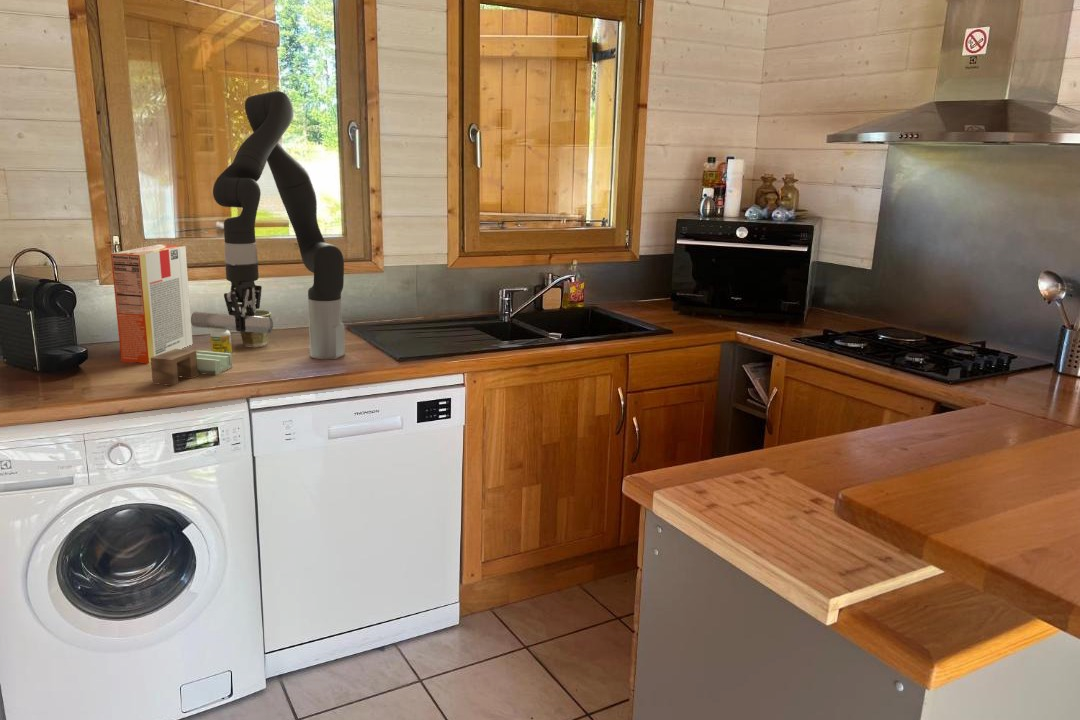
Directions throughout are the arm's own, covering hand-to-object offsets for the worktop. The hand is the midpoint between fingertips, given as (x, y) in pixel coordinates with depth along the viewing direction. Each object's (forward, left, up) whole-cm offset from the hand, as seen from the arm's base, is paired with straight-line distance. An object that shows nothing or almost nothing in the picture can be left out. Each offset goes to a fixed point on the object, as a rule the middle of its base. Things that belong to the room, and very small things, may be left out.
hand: (245, 328), depth 195 cm
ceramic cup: (+22, -41, -15) cm, 49 cm away
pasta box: (+41, -22, -15) cm, 49 cm away
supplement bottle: (+22, -24, -15) cm, 36 cm away
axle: (+4, 0, -1) cm, 4 cm away
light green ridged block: (+18, -10, -15) cm, 26 cm away
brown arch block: (+20, 0, -15) cm, 25 cm away
